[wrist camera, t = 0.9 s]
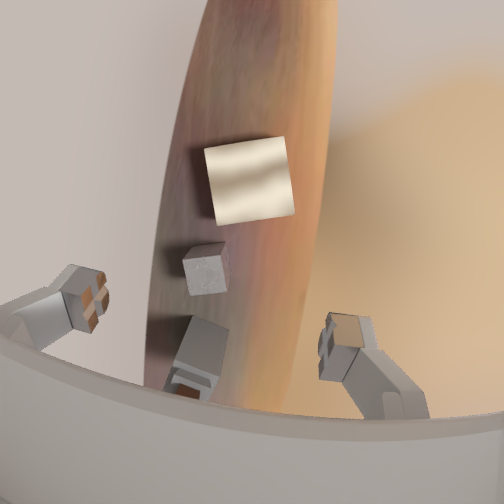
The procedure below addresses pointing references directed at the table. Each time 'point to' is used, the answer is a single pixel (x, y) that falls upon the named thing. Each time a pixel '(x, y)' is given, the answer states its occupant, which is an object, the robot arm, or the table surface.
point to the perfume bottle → (198, 360)
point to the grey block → (207, 269)
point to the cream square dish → (250, 180)
